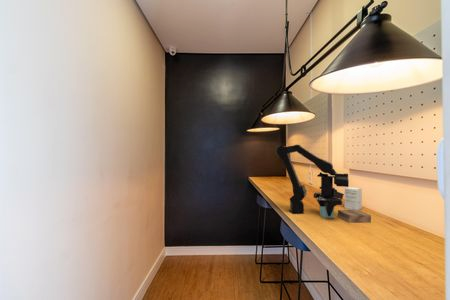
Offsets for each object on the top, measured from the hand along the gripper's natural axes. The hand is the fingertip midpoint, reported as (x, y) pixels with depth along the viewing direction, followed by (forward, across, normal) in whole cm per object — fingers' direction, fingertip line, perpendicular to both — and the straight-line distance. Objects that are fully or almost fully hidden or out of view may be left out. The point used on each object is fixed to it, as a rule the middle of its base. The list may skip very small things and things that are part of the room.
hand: (326, 214), depth 119 cm
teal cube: (+1, 0, 0) cm, 1 cm away
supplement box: (+1, +15, -25) cm, 29 cm away
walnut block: (+1, -6, -11) cm, 13 cm away
